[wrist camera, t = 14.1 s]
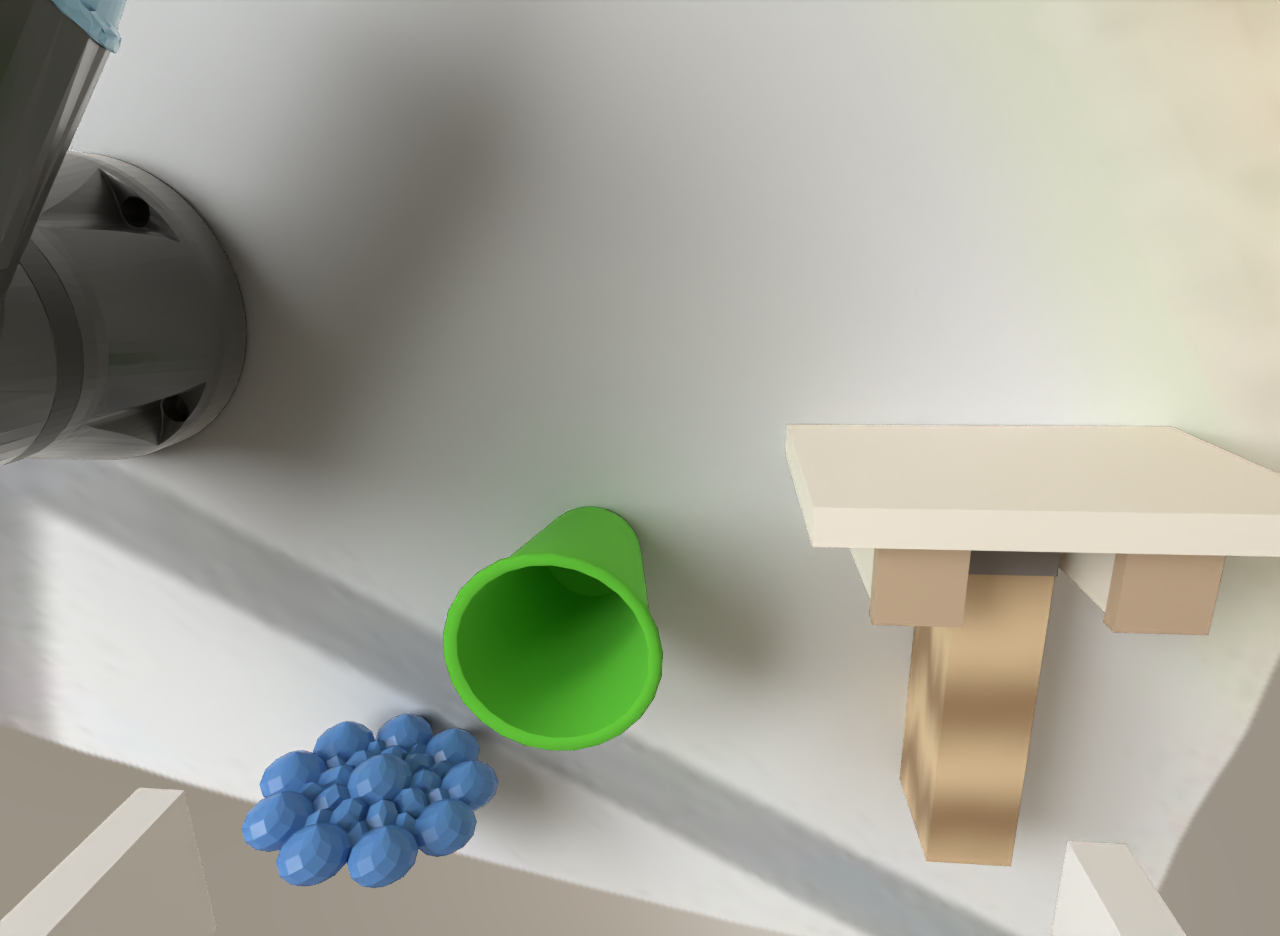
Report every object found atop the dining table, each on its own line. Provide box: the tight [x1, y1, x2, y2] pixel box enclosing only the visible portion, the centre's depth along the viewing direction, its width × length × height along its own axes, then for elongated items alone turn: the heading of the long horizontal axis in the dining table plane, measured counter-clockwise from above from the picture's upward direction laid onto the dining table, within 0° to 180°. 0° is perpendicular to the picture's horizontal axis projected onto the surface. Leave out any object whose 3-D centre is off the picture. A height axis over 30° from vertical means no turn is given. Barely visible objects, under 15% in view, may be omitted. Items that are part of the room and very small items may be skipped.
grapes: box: [242, 714, 498, 888], centre depth 41 cm, size 12×7×12 cm, turn 78°
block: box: [900, 550, 1061, 866], centre depth 38 cm, size 18×4×6 cm, turn 1°
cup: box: [443, 507, 663, 750], centre depth 36 cm, size 9×9×11 cm
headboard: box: [785, 424, 1280, 635], centre depth 33 cm, size 18×6×12 cm, turn 91°
